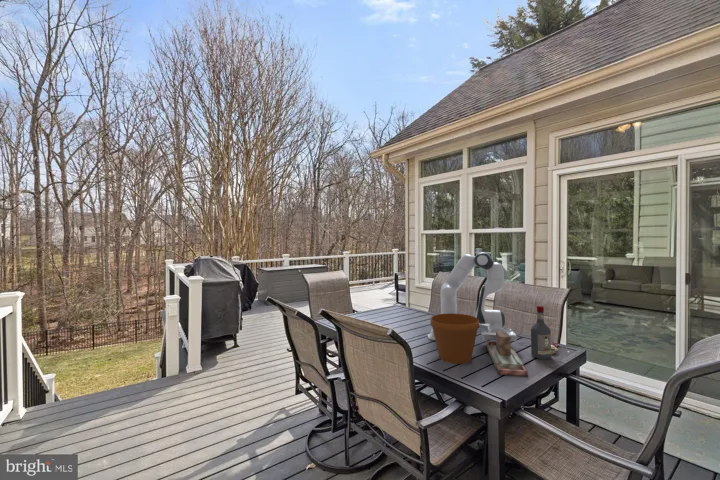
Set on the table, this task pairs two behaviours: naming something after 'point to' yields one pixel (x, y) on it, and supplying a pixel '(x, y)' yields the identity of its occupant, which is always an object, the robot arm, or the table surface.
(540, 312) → the liquor
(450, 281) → the robot arm
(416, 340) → the table surface
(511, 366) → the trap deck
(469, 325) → the flowerpot
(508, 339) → the walnut block
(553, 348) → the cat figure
